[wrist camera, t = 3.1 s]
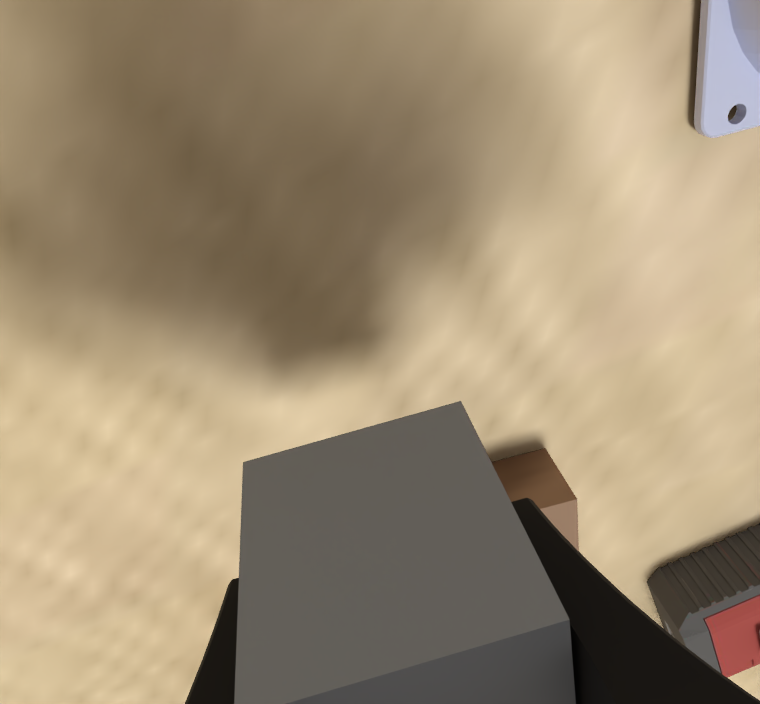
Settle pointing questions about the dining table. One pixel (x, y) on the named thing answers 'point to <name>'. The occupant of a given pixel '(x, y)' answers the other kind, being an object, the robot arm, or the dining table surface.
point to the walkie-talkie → (715, 601)
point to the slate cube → (393, 576)
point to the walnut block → (541, 489)
